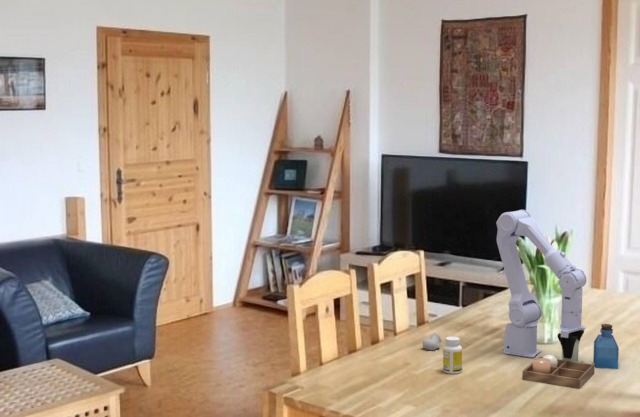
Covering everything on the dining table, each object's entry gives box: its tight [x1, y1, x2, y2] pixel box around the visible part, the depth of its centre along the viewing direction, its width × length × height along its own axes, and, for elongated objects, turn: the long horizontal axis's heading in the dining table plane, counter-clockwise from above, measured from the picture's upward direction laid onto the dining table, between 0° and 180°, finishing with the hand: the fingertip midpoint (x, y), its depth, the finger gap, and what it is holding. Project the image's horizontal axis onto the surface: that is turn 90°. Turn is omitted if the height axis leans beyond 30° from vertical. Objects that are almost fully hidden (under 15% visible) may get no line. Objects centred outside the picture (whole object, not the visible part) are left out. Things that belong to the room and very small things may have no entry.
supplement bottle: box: [442, 336, 463, 375], centre depth 247 cm, size 5×5×10 cm
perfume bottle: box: [592, 323, 620, 370], centre depth 251 cm, size 6×6×12 cm
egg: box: [542, 354, 558, 367], centre depth 247 cm, size 5×5×5 cm
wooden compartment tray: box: [521, 356, 596, 389], centre depth 242 cm, size 16×16×2 cm
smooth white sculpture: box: [422, 332, 442, 351], centre depth 271 cm, size 4×8×5 cm
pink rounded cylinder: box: [532, 357, 551, 374], centre depth 241 cm, size 5×5×5 cm
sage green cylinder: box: [561, 340, 580, 362], centre depth 253 cm, size 5×5×6 cm
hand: (570, 355), depth 254 cm, fingers closed on sage green cylinder, 5 cm apart
